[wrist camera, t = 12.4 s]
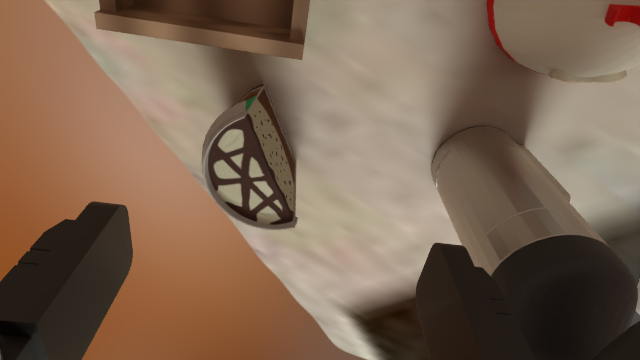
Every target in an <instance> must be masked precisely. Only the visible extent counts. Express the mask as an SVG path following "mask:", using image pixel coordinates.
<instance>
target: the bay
mask: <svg viewBox="0 0 640 360" xmlns="http://www.w3.org/2000/svg"><path fill="white" fill-rule="evenodd" d="M309 2H310V0H99V3H100V10H99V11H96V12H94V13H95V20H96V28H97V29H102V30H109V31H115V32H122V33H129V34H135V35H142V36H148V37H155V38H161V39H168V40H174V41H181V42H188V43H194V44H201V45H207V46H214V47H220V48H227V49H234V50H240V51H247V52H253V53H260V54H266V55H273V56H279V57H286V58H293V59H299V60H302V57H303V49H304V41H305V33H306V26H307V18H308V10H309Z"/></svg>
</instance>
